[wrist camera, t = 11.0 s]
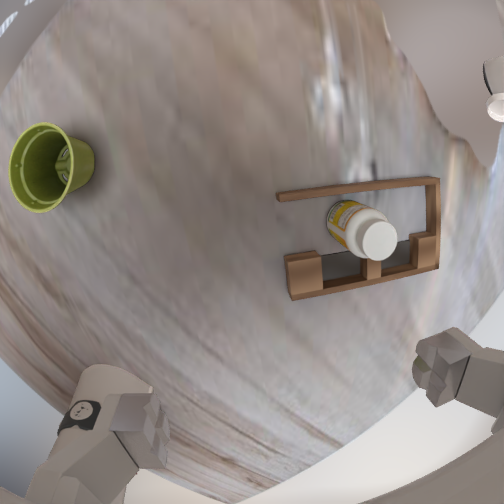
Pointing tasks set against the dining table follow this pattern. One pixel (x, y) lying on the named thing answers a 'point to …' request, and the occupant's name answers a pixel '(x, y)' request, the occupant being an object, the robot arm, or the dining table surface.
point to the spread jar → (495, 87)
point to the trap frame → (365, 269)
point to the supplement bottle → (362, 230)
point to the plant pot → (47, 166)
